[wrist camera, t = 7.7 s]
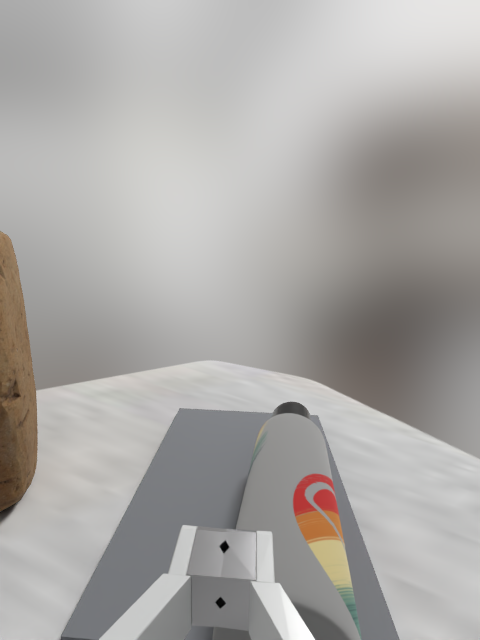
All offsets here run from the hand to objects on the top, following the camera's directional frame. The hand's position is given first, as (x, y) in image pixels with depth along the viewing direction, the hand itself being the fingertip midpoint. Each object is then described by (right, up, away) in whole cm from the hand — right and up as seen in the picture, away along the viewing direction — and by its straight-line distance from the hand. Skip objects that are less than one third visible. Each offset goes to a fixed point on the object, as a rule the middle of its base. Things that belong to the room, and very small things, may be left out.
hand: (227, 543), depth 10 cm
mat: (+1, -6, +15) cm, 16 cm away
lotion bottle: (+2, -5, +1) cm, 6 cm away
